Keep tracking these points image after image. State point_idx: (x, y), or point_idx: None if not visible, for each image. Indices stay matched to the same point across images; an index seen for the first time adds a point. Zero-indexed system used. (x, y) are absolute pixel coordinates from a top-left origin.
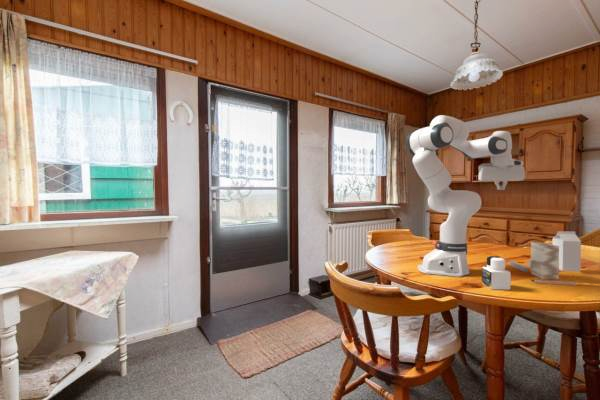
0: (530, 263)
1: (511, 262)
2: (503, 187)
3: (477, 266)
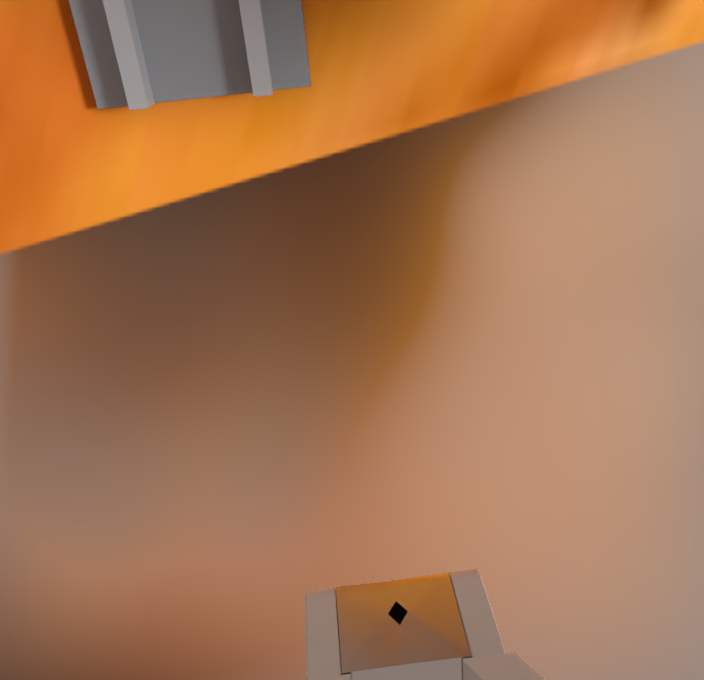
0: (137, 57)
1: (267, 57)
2: (346, 634)
3: (501, 18)
